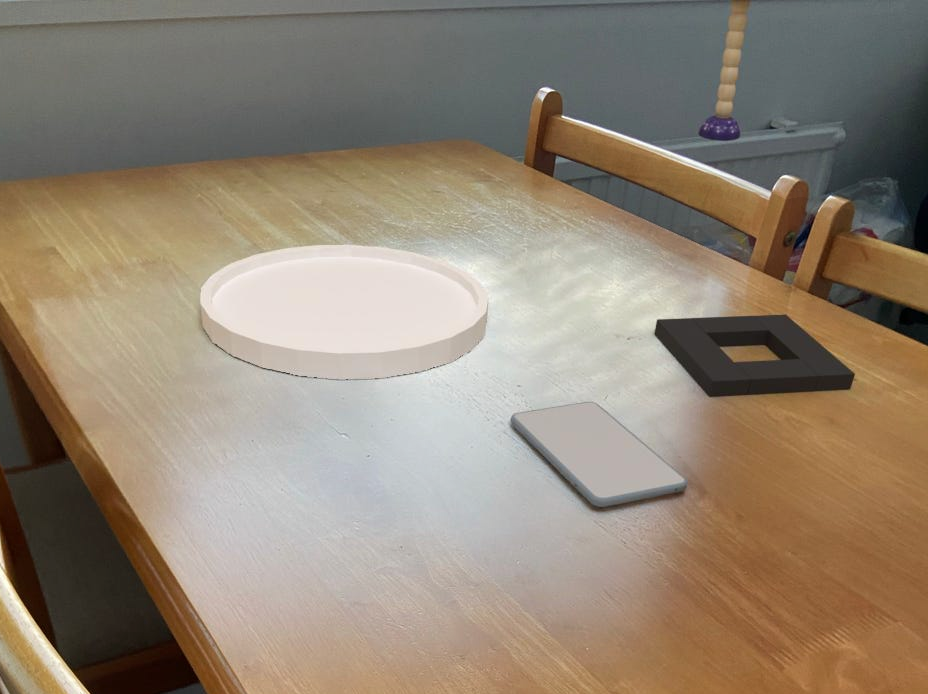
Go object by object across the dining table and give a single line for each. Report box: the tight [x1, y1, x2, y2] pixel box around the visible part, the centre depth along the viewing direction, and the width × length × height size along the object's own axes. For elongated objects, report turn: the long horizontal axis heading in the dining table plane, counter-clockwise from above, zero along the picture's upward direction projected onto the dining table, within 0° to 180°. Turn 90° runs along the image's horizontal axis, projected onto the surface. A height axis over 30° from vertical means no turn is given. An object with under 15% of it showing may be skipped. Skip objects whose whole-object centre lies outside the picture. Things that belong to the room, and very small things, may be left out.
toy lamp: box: [698, 0, 751, 142], centre depth 100 cm, size 5×5×17 cm
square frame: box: [654, 314, 856, 398], centre depth 93 cm, size 13×13×3 cm
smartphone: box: [510, 401, 688, 508], centre depth 80 cm, size 8×1×15 cm
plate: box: [199, 244, 489, 381], centre depth 99 cm, size 28×28×2 cm
